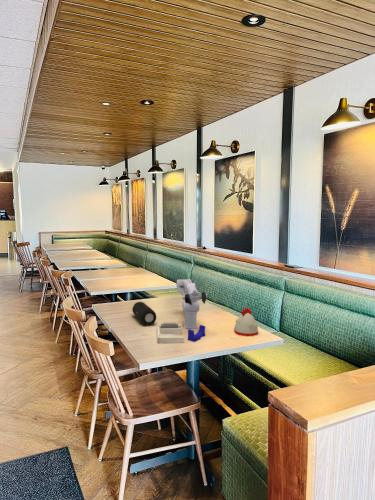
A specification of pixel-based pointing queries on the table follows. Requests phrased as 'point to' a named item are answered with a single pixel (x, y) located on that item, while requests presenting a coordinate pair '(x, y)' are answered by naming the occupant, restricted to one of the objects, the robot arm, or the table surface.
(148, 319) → the portable speaker
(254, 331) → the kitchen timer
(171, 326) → the seated twin plug
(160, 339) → the beige tray
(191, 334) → the cable clip
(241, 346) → the table surface
